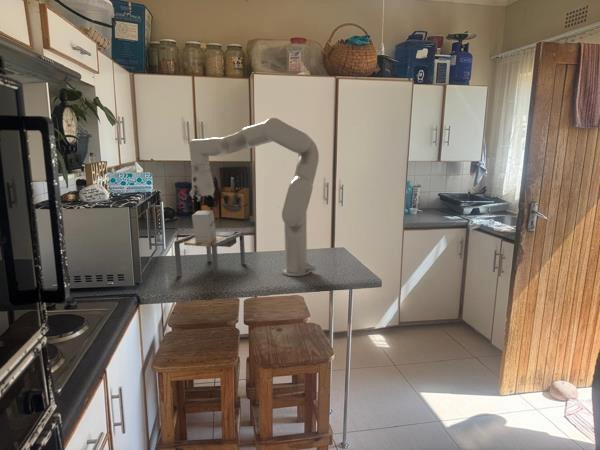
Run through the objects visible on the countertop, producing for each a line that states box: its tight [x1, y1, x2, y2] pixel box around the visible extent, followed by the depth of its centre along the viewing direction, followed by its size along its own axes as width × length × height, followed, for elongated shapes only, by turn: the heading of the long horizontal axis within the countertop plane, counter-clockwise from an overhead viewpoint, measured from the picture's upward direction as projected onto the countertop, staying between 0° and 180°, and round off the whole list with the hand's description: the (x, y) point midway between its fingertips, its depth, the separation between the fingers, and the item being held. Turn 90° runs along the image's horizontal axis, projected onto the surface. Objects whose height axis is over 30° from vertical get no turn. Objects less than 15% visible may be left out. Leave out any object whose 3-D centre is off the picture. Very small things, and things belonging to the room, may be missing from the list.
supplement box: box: [191, 210, 216, 243], centre depth 171 cm, size 7×7×13 cm
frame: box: [173, 230, 246, 282], centre depth 177 cm, size 20×25×16 cm
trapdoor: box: [183, 231, 237, 248], centre depth 177 cm, size 16×17×5 cm
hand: (204, 208), depth 170 cm, fingers open, 9 cm apart
